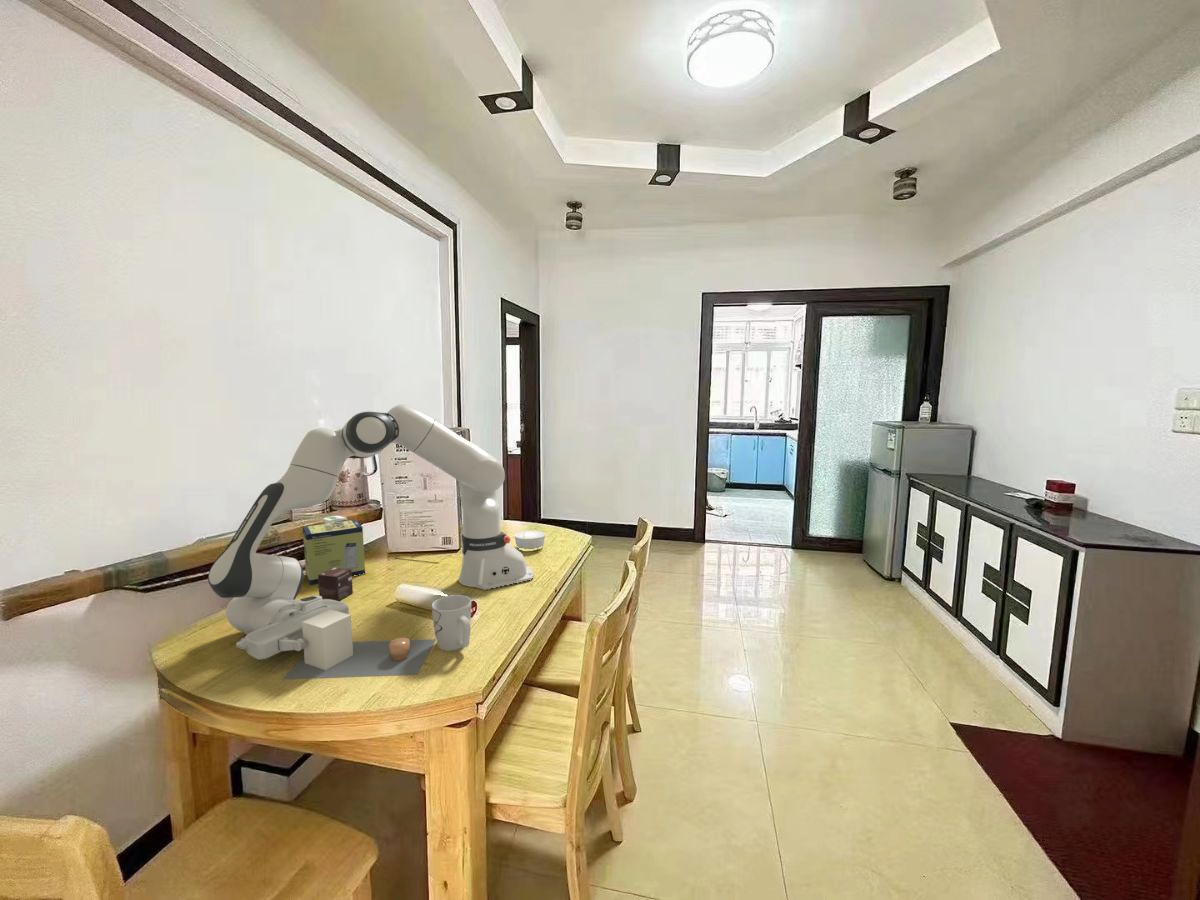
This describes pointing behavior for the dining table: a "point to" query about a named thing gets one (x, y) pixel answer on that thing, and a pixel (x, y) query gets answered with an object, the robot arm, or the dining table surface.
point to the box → (335, 584)
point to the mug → (452, 621)
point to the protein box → (333, 548)
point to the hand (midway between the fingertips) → (324, 635)
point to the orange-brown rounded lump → (399, 648)
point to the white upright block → (327, 639)
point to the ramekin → (530, 539)
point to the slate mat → (369, 662)
